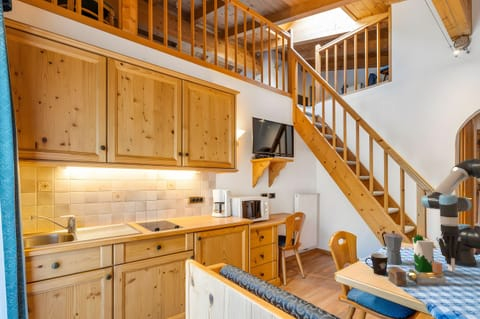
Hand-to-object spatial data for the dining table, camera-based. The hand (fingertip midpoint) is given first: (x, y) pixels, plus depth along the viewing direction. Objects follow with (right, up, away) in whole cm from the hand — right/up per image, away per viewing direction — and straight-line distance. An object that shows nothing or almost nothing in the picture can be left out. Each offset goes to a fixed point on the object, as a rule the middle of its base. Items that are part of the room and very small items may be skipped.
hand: (451, 270), depth 141 cm
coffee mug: (-32, -7, +14) cm, 35 cm away
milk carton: (-5, -7, +14) cm, 16 cm away
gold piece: (-14, -5, 0) cm, 14 cm away
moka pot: (-14, -7, +30) cm, 34 cm away
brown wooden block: (-28, -6, 0) cm, 29 cm away
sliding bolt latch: (-13, -6, 0) cm, 14 cm away
